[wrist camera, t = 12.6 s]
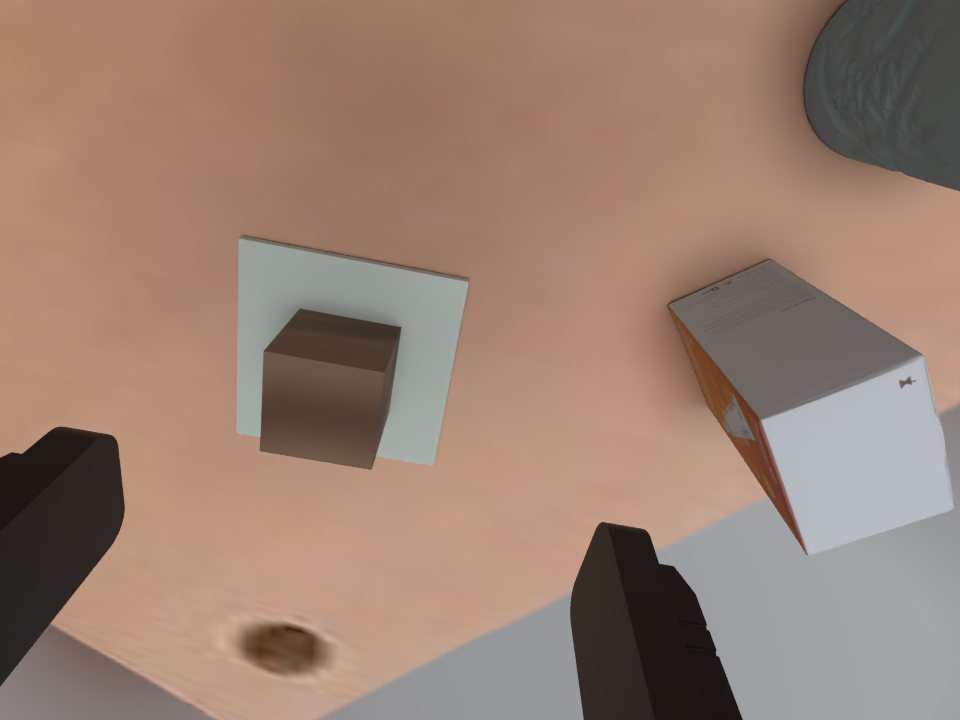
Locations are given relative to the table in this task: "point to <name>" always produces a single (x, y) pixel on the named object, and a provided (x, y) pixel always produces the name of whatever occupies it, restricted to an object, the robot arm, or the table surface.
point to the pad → (360, 295)
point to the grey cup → (890, 86)
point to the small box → (818, 405)
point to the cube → (328, 388)
